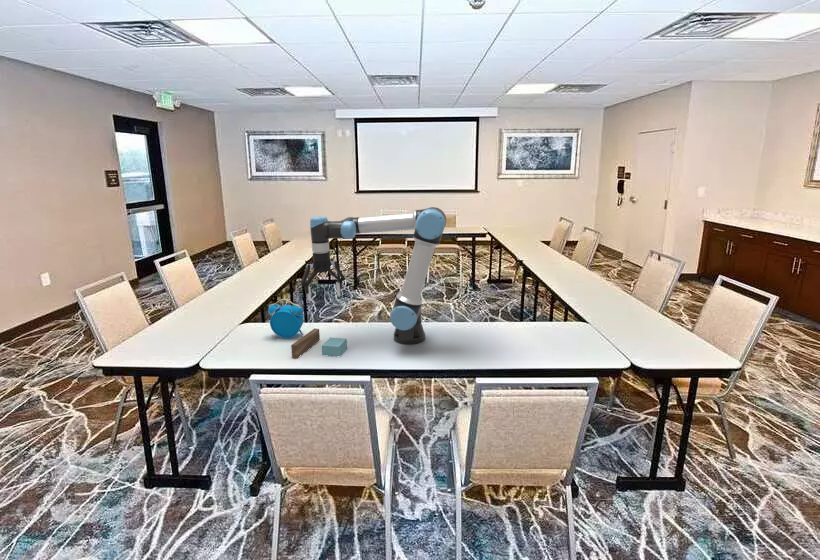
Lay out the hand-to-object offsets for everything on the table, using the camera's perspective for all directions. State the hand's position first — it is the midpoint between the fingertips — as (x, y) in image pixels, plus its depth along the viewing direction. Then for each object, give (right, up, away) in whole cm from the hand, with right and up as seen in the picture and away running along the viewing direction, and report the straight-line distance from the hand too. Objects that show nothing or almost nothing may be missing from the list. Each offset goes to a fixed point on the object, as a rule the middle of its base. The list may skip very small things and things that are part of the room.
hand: (324, 298), depth 213 cm
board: (-8, -23, +2) cm, 25 cm away
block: (+5, -24, -2) cm, 25 cm away
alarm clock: (-21, -20, +17) cm, 33 cm away
